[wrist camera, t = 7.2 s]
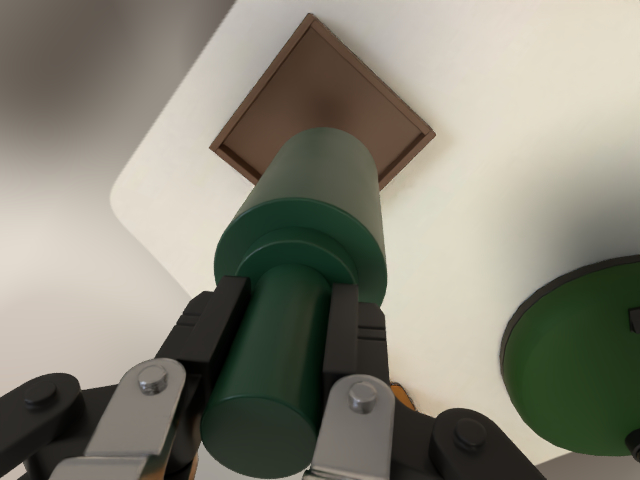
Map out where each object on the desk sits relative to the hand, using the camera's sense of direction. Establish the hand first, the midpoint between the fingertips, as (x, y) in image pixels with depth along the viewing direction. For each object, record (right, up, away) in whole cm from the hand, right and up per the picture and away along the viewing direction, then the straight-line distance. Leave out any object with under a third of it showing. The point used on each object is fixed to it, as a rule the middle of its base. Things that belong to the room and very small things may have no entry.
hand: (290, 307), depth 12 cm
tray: (+1, +11, +25) cm, 27 cm away
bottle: (+1, +5, +10) cm, 12 cm away
